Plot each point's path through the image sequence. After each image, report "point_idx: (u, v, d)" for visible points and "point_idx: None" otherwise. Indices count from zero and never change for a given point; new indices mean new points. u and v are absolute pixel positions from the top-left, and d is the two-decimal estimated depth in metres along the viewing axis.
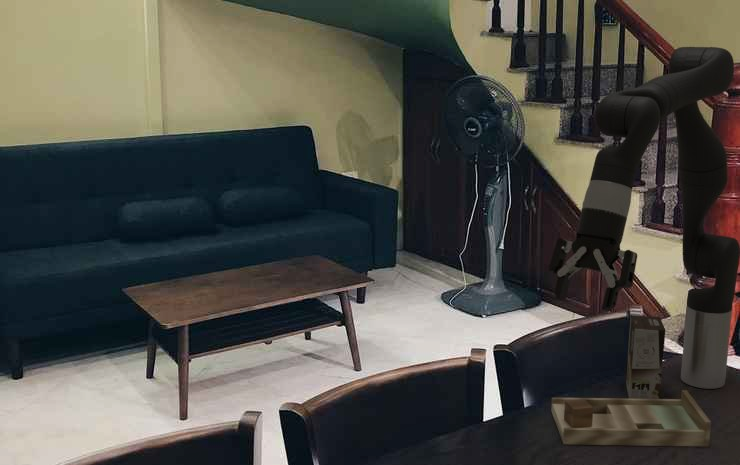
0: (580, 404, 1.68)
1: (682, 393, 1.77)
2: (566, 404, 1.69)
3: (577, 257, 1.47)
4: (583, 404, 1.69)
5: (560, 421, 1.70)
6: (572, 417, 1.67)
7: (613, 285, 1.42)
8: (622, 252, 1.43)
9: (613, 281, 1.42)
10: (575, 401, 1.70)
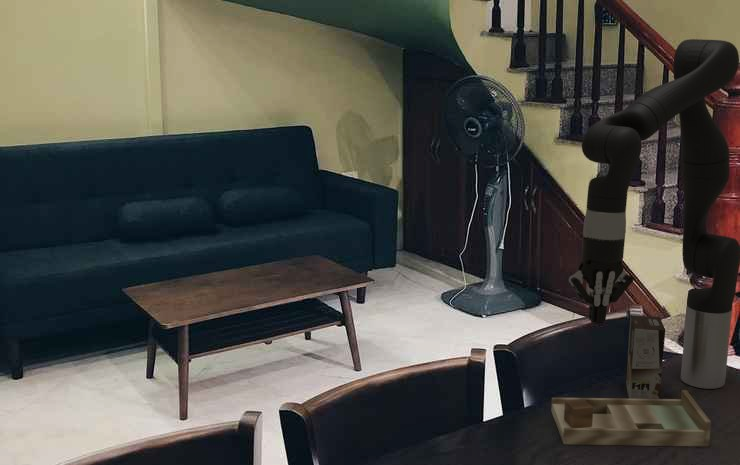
0: (580, 404, 1.68)
1: (682, 393, 1.77)
2: (566, 404, 1.69)
3: (599, 282, 1.62)
4: (583, 404, 1.69)
5: (560, 421, 1.70)
6: (572, 417, 1.67)
7: (607, 303, 1.63)
8: (624, 273, 1.64)
9: (607, 301, 1.63)
10: (575, 401, 1.70)
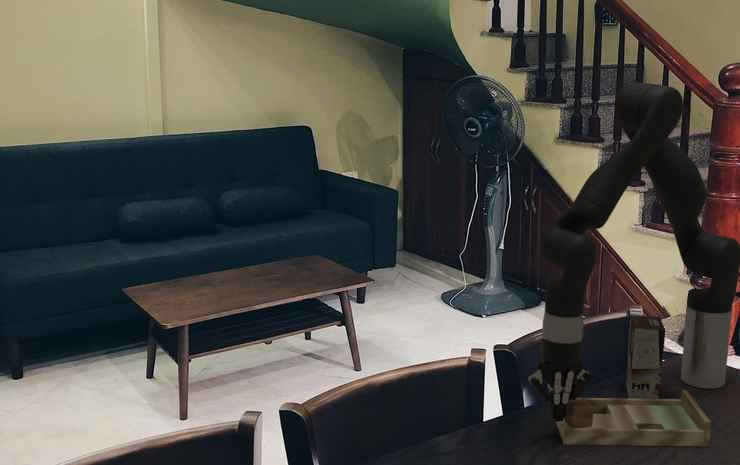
0: (581, 404, 1.68)
1: (682, 393, 1.77)
2: (567, 403, 1.69)
3: (558, 382, 1.65)
4: (584, 403, 1.69)
5: (560, 421, 1.70)
6: (573, 417, 1.67)
7: (566, 401, 1.67)
8: (583, 371, 1.67)
9: (567, 399, 1.67)
10: (576, 400, 1.70)
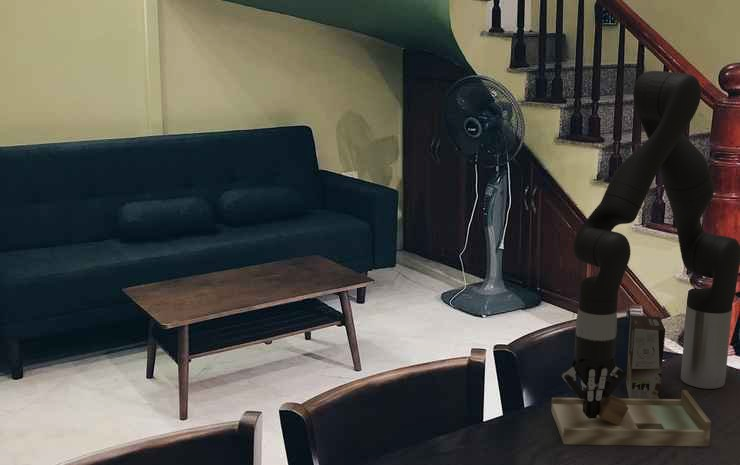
0: (617, 401, 1.69)
1: (682, 393, 1.77)
2: None
3: (592, 379, 1.66)
4: (620, 402, 1.69)
5: (560, 421, 1.70)
6: (605, 408, 1.67)
7: (600, 398, 1.68)
8: (617, 369, 1.68)
9: (600, 396, 1.68)
10: (613, 396, 1.70)
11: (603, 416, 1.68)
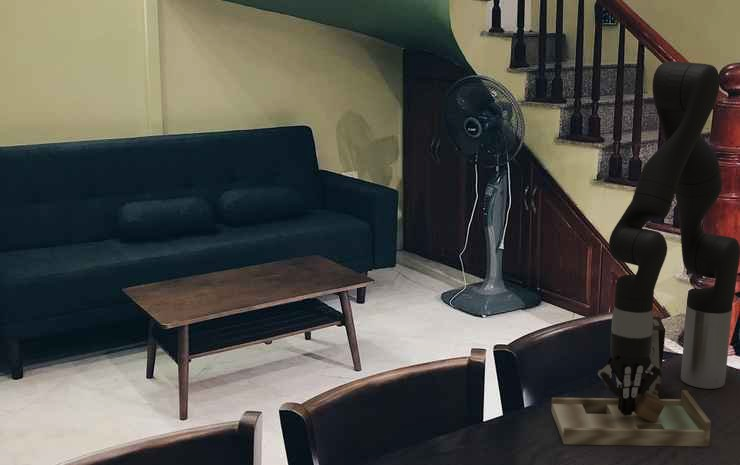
0: (653, 398, 1.70)
1: (682, 393, 1.77)
2: None
3: (628, 376, 1.68)
4: (656, 399, 1.70)
5: (560, 421, 1.70)
6: (642, 405, 1.69)
7: (635, 395, 1.69)
8: (652, 366, 1.70)
9: (636, 393, 1.69)
10: (649, 394, 1.72)
11: (639, 413, 1.69)
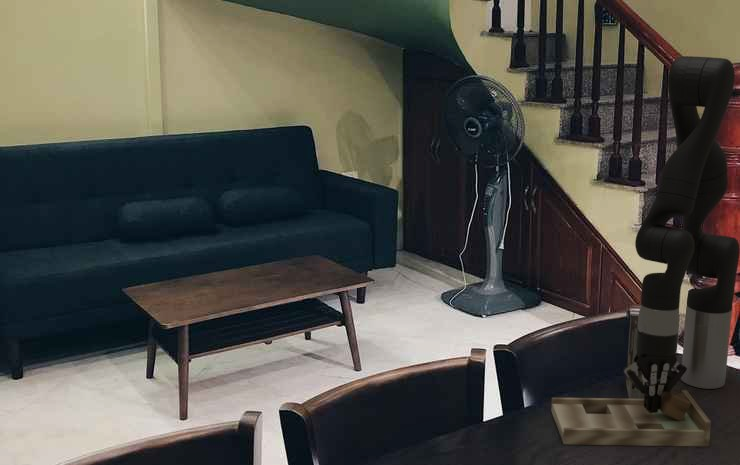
0: (679, 396, 1.71)
1: (682, 393, 1.77)
2: (665, 391, 1.72)
3: (654, 374, 1.69)
4: (682, 397, 1.71)
5: (560, 421, 1.70)
6: (668, 404, 1.69)
7: (661, 393, 1.70)
8: (678, 364, 1.71)
9: (662, 391, 1.70)
10: (674, 392, 1.72)
11: (665, 411, 1.70)
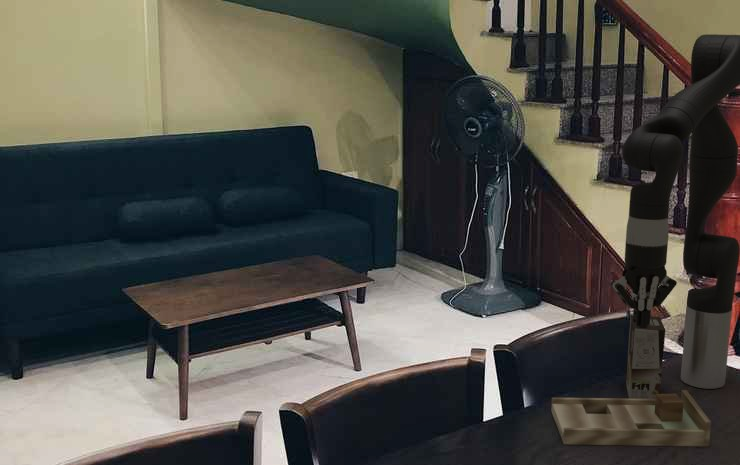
0: (670, 399, 1.71)
1: (682, 393, 1.77)
2: (657, 397, 1.72)
3: (643, 287, 1.64)
4: (674, 398, 1.71)
5: (560, 421, 1.70)
6: (662, 411, 1.70)
7: (651, 308, 1.66)
8: (667, 277, 1.66)
9: (651, 305, 1.66)
10: (666, 395, 1.72)
11: (663, 418, 1.70)
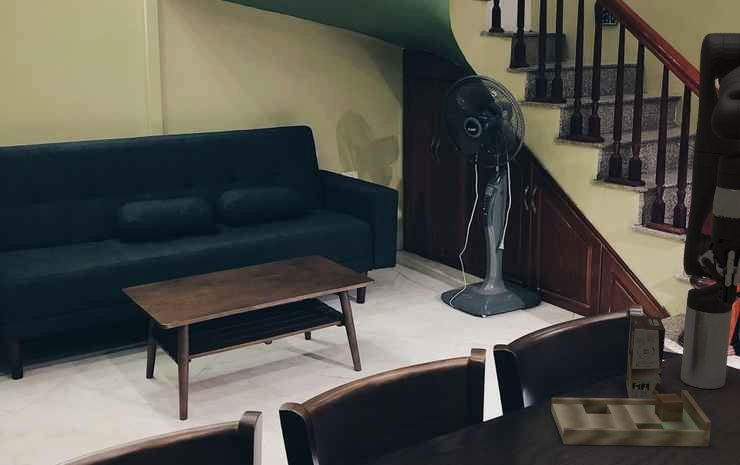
0: (670, 399, 1.71)
1: (682, 393, 1.77)
2: (657, 397, 1.72)
3: (731, 261, 1.57)
4: (674, 398, 1.71)
5: (560, 421, 1.70)
6: (662, 411, 1.70)
7: (738, 283, 1.59)
8: None
9: (738, 281, 1.59)
10: (666, 395, 1.72)
11: (663, 418, 1.70)
